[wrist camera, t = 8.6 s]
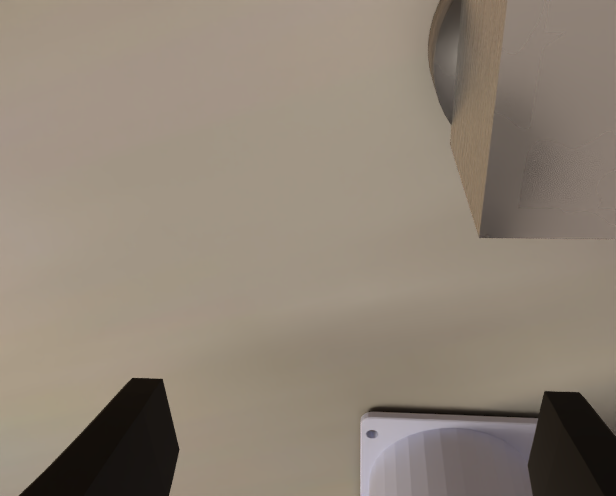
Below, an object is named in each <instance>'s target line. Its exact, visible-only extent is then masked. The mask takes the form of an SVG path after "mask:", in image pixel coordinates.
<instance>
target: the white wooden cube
mask: <svg viewBox="0 0 616 496" xmlns="http://www.w3.org/2000/svg"><path fill="white" fill-rule="evenodd" d="M450 146H451V149H452V152H453V155H454V159H455V162H456V165H457V168H458V172H459V175H460V178H461V181H462V184H463V188H464V191H465V194H466V197H467V201H468V204H469V207H470V210H471V214H472V217H473V220H474V223H475V227H476V230H477V233H478V236H479V238H550V239H616V0H462V5H461V17H460V29H459V41H458V53H457V65H456V77H455V89H454V101H453V113H452V125H451V137H450Z"/></svg>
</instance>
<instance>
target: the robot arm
mask: <svg viewBox="0 0 616 496" xmlns="http://www.w3.org/2000/svg"><path fill="white" fill-rule="evenodd" d="M369 430H375V431H369ZM178 453H179V446H178V442H177V438H176V433H175V429H174V425H173V421H172V417H171V412H170V408H169V404H168V400H167V396H166V391H165V387H164V383H163V379H149V378H132V379H131V380H130V381H129V382H128V383H127V384H126V385H125V386H124V387H123V388H122V389H121V390H120V391H119V392H118V394H117V395H116V396H115V397H114V398H113V399H112V400H111V401H110V402H109V403H108V404H107V406H106V407H105V408H104V409H103V410H102V411H101V412H100V413H99V414H98V415H97V417H96V418H95V419H94V420H93V421H92V422H91V423H90V424H89V425H88V426H87V427H86V428H85V429H84V431H83V432H82V433H81V434H80V435H79V436H78V437H77V438H76V439H75V440H74V441H73V442H72V443H71V444H70V445H69V446H68V447H67V448H66V449H65V450H64V451H63V452H62V454H61V455H60V456H59V457H58V458H57V459H56V460H55V461H54V462H53V463H52V464H51V465H50V466H49V467H48V468H47V469H46V470H45V471H44V472H43V473H42V474H41V475H40V476H39V477H38V478H37V479H36V480H35V481H34V482H33V483H31V484H30V485H29V486H28V487H27V488H26V489H25V490H24V491H23V492H22V493H21V494H20V495H19V496H169V493H170V489H171V484H172V480H173V476H174V472H175V467H176V462H177V458H178ZM360 496H616V436H615V435H614V434H613V433H612V431H611V430H610V429H609V428H608V427H607V425H606V424H605V423H604V422H603V420H602V419H601V418H600V417H599V415H598V414H597V413H596V412H595V410H594V409H593V408H592V407H591V405H590V404H589V403H588V402H587V400H586V399H585V398H584V397H583V396H582V395H581V394H580V393H579V392H550V391H544V396H543V400H542V404H541V409H540V413H539V417H538V418H519V417H494V416H469V415H444V414H419V413H394V412H367V413H365V414H363V415H362V417H361V451H360Z"/></svg>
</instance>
